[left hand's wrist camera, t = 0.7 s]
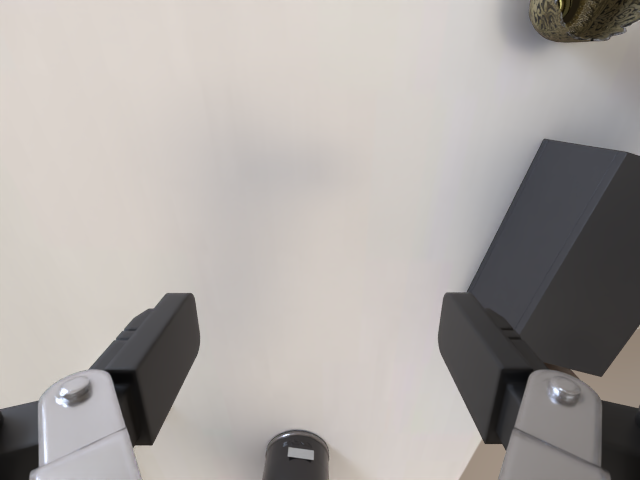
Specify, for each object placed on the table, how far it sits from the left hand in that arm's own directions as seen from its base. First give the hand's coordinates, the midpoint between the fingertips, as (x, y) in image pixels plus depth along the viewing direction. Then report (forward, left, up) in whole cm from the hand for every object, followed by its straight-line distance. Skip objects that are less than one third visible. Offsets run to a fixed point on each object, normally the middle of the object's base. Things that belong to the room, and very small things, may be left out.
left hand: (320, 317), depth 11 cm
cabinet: (-7, -26, -29) cm, 39 cm away
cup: (+15, -20, -29) cm, 38 cm away
